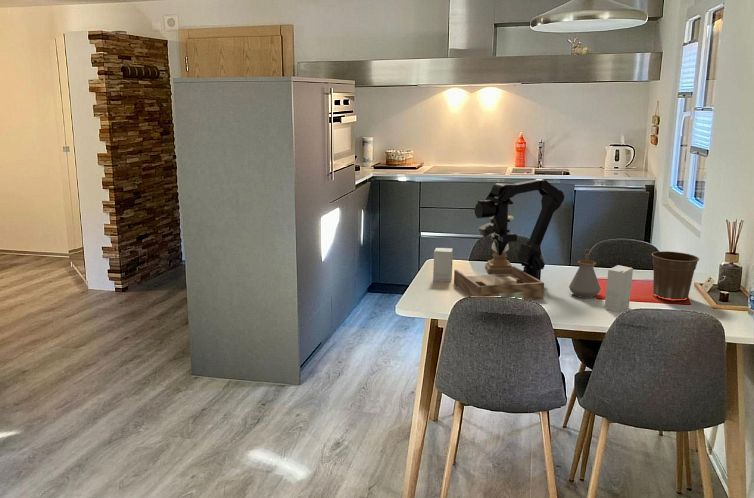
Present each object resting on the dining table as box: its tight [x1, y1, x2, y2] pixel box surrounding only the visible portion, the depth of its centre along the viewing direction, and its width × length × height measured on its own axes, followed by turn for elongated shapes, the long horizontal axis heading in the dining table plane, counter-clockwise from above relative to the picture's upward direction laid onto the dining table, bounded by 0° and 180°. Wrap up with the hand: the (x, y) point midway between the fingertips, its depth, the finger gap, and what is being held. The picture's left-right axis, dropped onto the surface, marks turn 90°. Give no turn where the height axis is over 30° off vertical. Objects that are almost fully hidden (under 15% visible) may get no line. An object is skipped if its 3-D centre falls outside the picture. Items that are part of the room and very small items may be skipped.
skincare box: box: [604, 264, 634, 313], centre depth 237 cm, size 8×6×15 cm
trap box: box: [453, 265, 545, 300], centre depth 259 cm, size 26×26×6 cm
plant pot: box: [651, 250, 700, 299], centre depth 250 cm, size 16×16×16 cm
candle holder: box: [484, 214, 515, 275], centre depth 288 cm, size 11×11×24 cm
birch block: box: [495, 276, 517, 285], centre depth 250 cm, size 6×6×4 cm
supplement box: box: [432, 247, 454, 283], centre depth 274 cm, size 7×7×13 cm
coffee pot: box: [568, 248, 602, 299], centre depth 258 cm, size 21×12×15 cm, turn 162°
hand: (499, 255), depth 263 cm, fingers closed
